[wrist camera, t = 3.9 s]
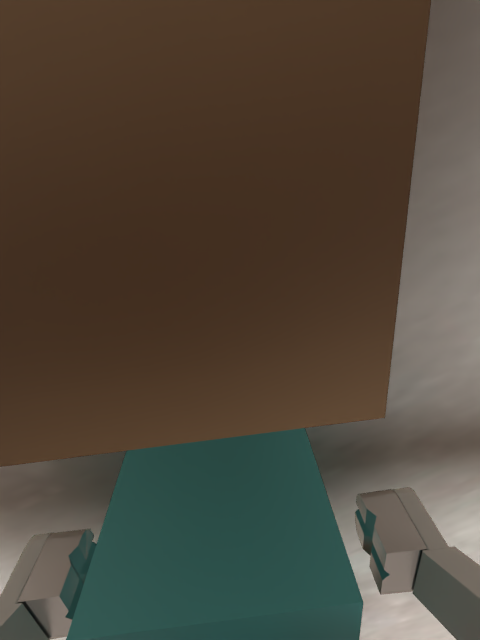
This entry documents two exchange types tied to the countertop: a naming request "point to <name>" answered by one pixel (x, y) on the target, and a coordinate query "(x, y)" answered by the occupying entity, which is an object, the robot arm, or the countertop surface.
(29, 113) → the walnut block
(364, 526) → the robot arm
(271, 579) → the teal block
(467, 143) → the countertop surface
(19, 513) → the countertop surface
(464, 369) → the countertop surface
